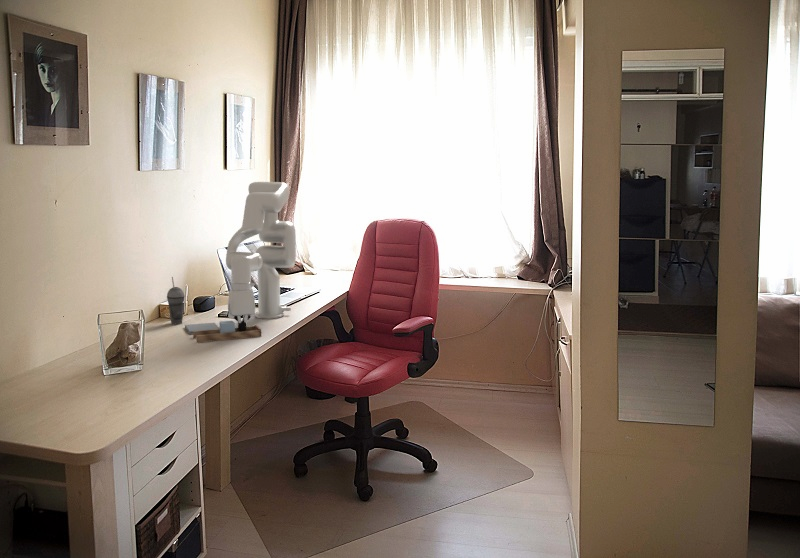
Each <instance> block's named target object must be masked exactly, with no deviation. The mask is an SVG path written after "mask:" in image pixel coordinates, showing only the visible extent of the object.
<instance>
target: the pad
mask: <svg viewBox="0 0 800 558" xmlns="http://www.w3.org/2000/svg"><path fill="white" fill-rule="evenodd" d="M184 328H185V330H186V332H188V334H189V335H193V331H201V330H213V329H220V326H218V325H217V323H216V322H205V323H203V322H201V323H193V324H184Z"/></svg>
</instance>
